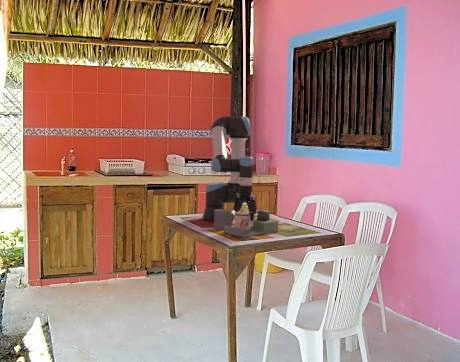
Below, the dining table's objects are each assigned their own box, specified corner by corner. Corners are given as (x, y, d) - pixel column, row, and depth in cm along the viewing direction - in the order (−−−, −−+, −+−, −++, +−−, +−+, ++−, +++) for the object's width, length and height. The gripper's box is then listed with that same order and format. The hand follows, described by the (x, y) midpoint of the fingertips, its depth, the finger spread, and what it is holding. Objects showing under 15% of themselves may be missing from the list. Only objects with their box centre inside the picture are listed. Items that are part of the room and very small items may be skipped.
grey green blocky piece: (223, 232, 307) (224, 212, 306) (257, 227, 325) (258, 208, 324) (244, 237, 295) (244, 217, 294) (277, 231, 314) (278, 212, 313)
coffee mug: (219, 229, 315) (219, 212, 314) (210, 226, 323) (211, 209, 322) (239, 227, 322) (239, 210, 321) (230, 225, 330) (231, 208, 329)
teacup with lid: (240, 231, 299) (240, 209, 298) (231, 228, 307) (231, 207, 306) (258, 229, 306) (258, 208, 304) (249, 226, 313) (249, 206, 312)
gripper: (227, 183, 309) (226, 223, 312) (254, 187, 294) (253, 229, 296) (236, 182, 314) (235, 221, 317) (264, 186, 299) (263, 227, 301)
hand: (244, 225), depth 306 cm, fingers closed on teacup with lid, 9 cm apart
